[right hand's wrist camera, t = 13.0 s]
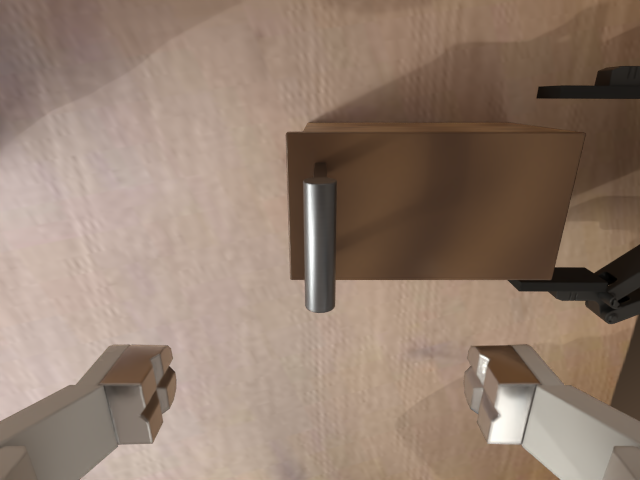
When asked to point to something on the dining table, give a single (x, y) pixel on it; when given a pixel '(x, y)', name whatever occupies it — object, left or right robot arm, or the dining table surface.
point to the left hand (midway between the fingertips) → (527, 193)
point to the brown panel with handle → (426, 206)
